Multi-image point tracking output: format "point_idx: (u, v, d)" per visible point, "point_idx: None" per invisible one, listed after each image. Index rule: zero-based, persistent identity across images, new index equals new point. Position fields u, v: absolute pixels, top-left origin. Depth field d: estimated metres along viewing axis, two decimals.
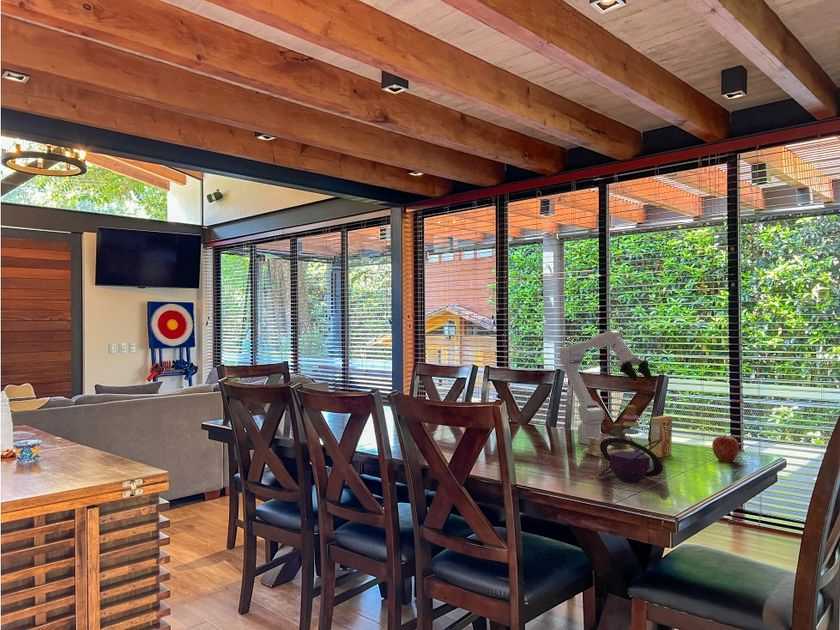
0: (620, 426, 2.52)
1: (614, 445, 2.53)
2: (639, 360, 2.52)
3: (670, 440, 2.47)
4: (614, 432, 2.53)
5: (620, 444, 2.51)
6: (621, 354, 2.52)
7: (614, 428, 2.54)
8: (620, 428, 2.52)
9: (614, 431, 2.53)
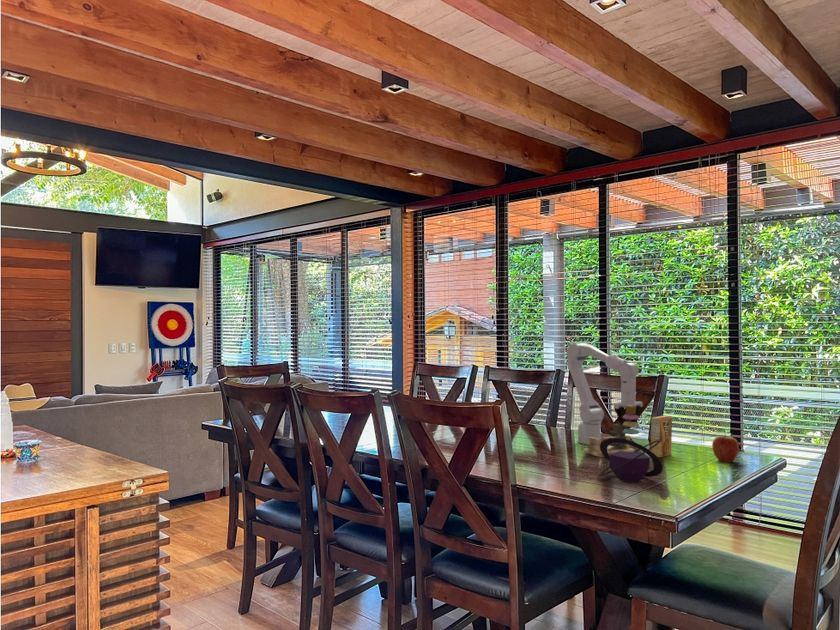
0: (620, 426, 2.52)
1: (614, 445, 2.53)
2: (636, 404, 2.57)
3: (670, 440, 2.47)
4: (614, 432, 2.53)
5: (620, 444, 2.51)
6: (624, 394, 2.55)
7: (614, 428, 2.54)
8: (620, 428, 2.52)
9: (614, 431, 2.53)
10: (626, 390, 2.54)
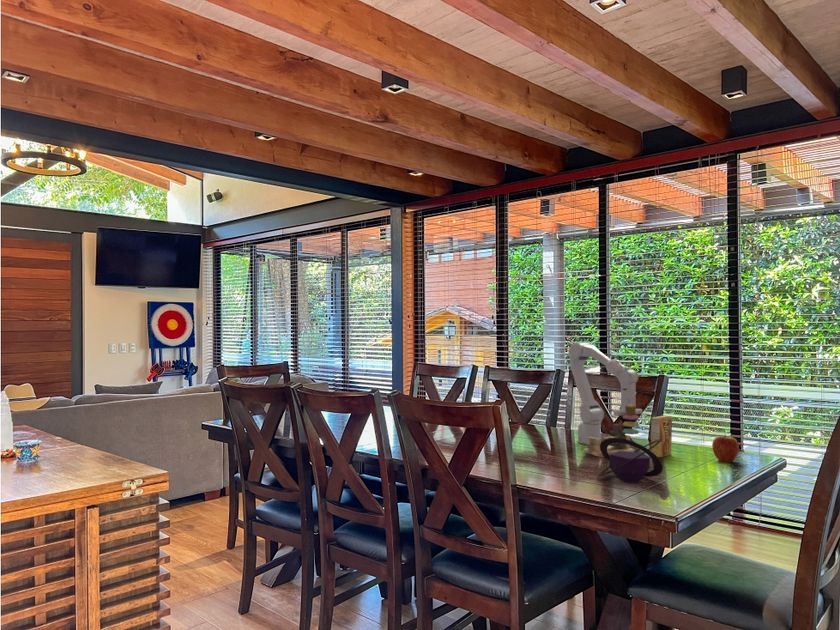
0: (620, 426, 2.52)
1: (614, 445, 2.53)
2: (636, 411, 2.57)
3: (670, 440, 2.47)
4: (614, 432, 2.53)
5: (620, 444, 2.51)
6: (624, 402, 2.55)
7: (614, 428, 2.54)
8: (620, 428, 2.52)
9: (614, 431, 2.53)
10: (626, 397, 2.54)
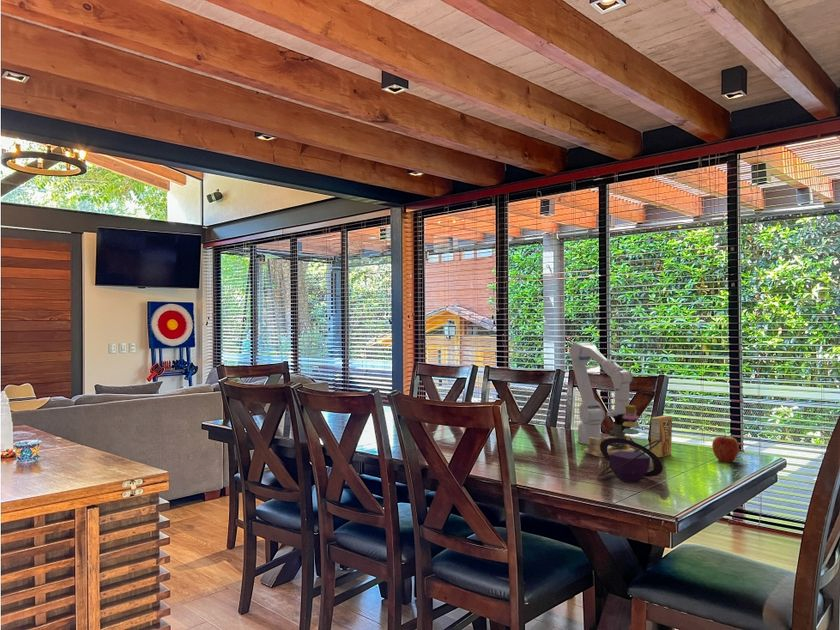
0: (619, 426, 2.52)
1: (613, 445, 2.53)
2: None
3: (670, 440, 2.47)
4: (613, 432, 2.53)
5: (619, 444, 2.50)
6: (618, 402, 2.53)
7: (613, 428, 2.53)
8: (619, 428, 2.52)
9: (614, 431, 2.53)
10: (618, 398, 2.53)
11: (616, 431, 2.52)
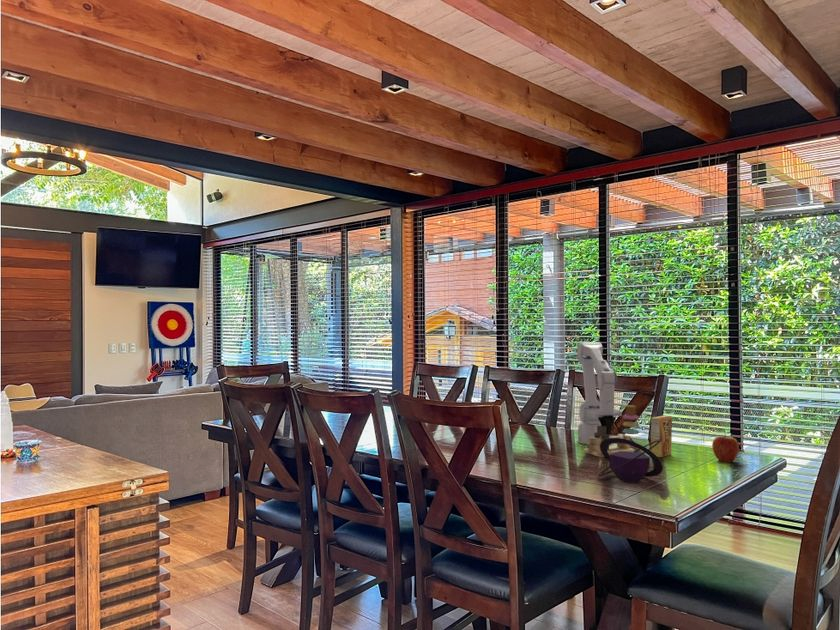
0: (604, 428, 2.48)
1: None
2: (615, 413, 2.51)
3: (670, 440, 2.47)
4: (598, 434, 2.49)
5: None
6: (602, 403, 2.49)
7: (598, 430, 2.49)
8: (604, 429, 2.48)
9: (598, 432, 2.49)
10: (600, 398, 2.50)
11: (601, 433, 2.48)
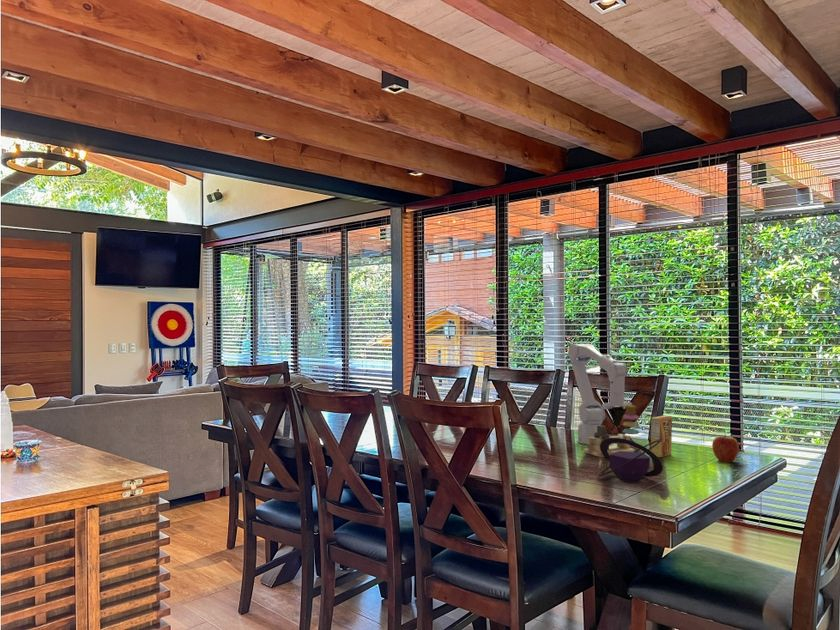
0: (604, 428, 2.48)
1: None
2: (625, 405, 2.55)
3: (670, 440, 2.47)
4: (598, 434, 2.49)
5: None
6: (613, 395, 2.53)
7: (598, 430, 2.49)
8: (604, 429, 2.48)
9: (598, 432, 2.49)
10: (613, 390, 2.53)
11: (601, 433, 2.48)
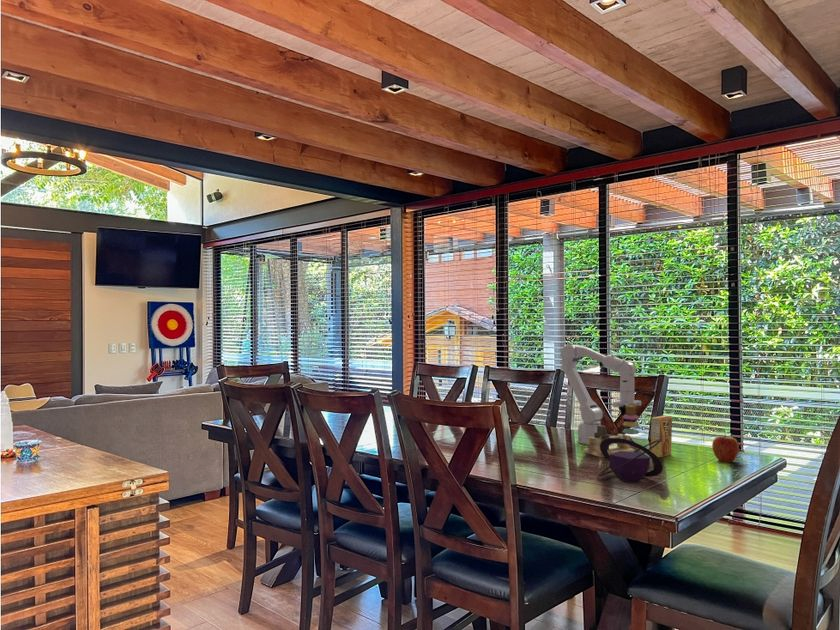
0: (604, 428, 2.48)
1: None
2: (635, 403, 2.61)
3: (670, 440, 2.47)
4: (598, 434, 2.49)
5: None
6: (623, 393, 2.58)
7: (598, 430, 2.49)
8: (604, 429, 2.48)
9: (598, 432, 2.49)
10: (626, 389, 2.58)
11: (601, 433, 2.48)
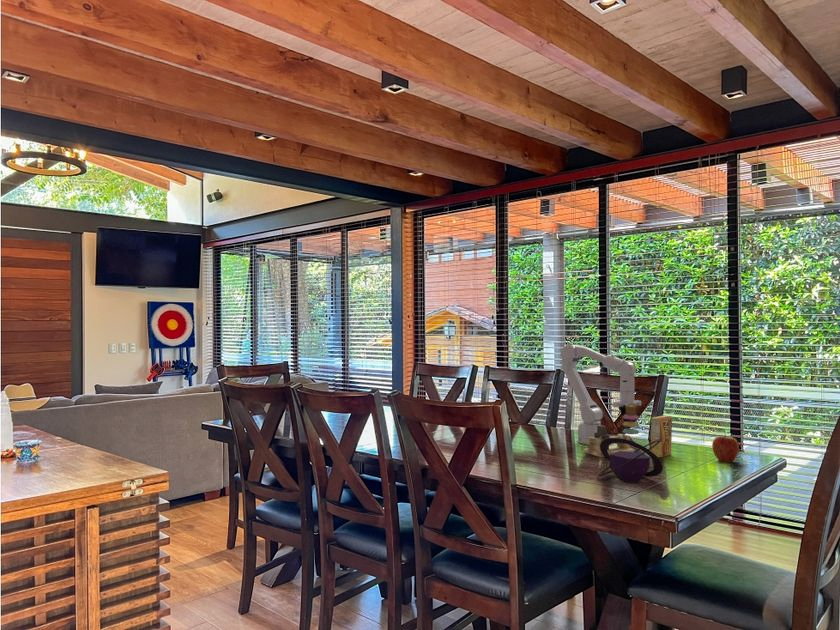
0: (604, 428, 2.48)
1: None
2: (635, 403, 2.61)
3: (670, 440, 2.47)
4: (598, 434, 2.49)
5: None
6: (623, 393, 2.58)
7: (598, 430, 2.49)
8: (604, 429, 2.48)
9: (598, 432, 2.49)
10: (626, 389, 2.58)
11: (601, 433, 2.48)
